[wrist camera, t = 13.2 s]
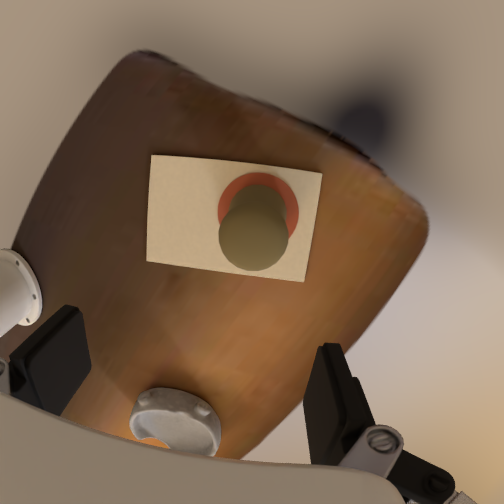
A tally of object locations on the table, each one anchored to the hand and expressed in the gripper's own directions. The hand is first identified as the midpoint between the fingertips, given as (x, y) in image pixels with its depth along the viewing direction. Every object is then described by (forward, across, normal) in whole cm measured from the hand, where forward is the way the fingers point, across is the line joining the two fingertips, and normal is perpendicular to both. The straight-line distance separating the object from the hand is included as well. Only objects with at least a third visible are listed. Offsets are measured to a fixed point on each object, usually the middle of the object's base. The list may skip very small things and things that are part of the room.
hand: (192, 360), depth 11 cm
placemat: (+23, +1, -1) cm, 23 cm away
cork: (+23, -2, -2) cm, 23 cm away
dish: (+24, +6, +30) cm, 39 cm away
